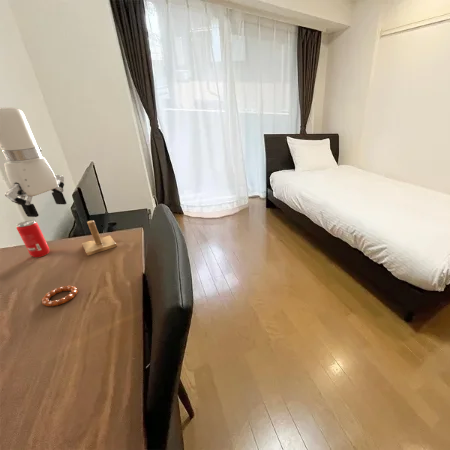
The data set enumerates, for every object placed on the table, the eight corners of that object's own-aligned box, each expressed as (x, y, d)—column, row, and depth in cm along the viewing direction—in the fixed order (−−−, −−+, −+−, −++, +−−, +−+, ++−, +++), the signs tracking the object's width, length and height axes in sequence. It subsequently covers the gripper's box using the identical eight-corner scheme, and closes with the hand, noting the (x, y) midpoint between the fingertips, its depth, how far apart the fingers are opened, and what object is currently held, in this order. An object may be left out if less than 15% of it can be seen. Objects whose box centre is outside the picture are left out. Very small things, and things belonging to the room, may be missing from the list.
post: (87, 255, 94) (77, 229, 90) (82, 246, 100) (72, 221, 96) (117, 246, 100) (108, 221, 96) (110, 237, 106) (102, 214, 101)
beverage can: (27, 257, 94) (11, 225, 88) (43, 249, 98) (28, 219, 93) (38, 259, 92) (23, 227, 87) (54, 251, 97) (40, 221, 92)
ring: (44, 311, 71) (42, 307, 70) (41, 297, 75) (39, 293, 75) (80, 297, 75) (78, 293, 75) (75, 285, 80) (73, 281, 80)
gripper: (39, 148, 85) (61, 199, 93) (-24, 161, 70) (8, 221, 77) (61, 149, 85) (81, 200, 92) (3, 162, 69) (32, 222, 77)
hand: (48, 209), depth 85 cm, fingers open, 9 cm apart
